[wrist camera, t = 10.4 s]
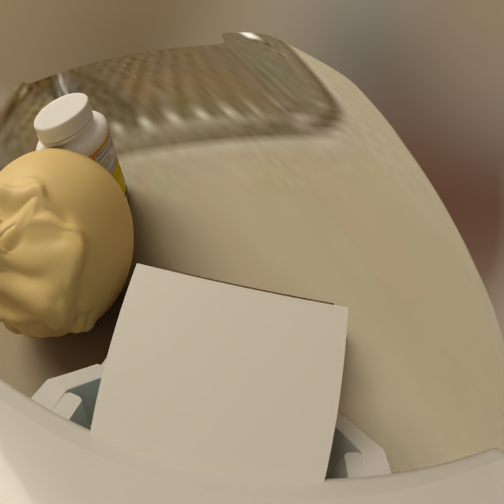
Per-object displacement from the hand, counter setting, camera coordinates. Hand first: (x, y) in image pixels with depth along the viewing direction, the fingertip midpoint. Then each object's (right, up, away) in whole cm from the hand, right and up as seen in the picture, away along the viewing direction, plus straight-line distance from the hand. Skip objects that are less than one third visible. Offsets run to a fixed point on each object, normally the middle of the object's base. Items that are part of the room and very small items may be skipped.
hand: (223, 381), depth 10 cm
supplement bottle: (-12, +9, +12) cm, 19 cm away
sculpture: (-12, +3, +9) cm, 16 cm away
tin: (-1, -3, +4) cm, 5 cm away
